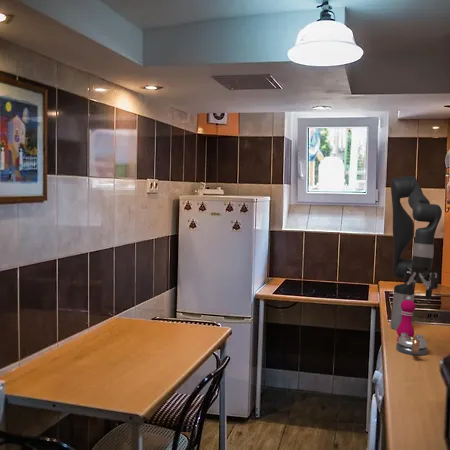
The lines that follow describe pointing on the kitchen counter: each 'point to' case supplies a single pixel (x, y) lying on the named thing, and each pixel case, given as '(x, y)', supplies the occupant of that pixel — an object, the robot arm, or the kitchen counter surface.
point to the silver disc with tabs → (408, 351)
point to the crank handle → (412, 342)
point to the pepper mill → (406, 318)
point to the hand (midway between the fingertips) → (418, 297)
